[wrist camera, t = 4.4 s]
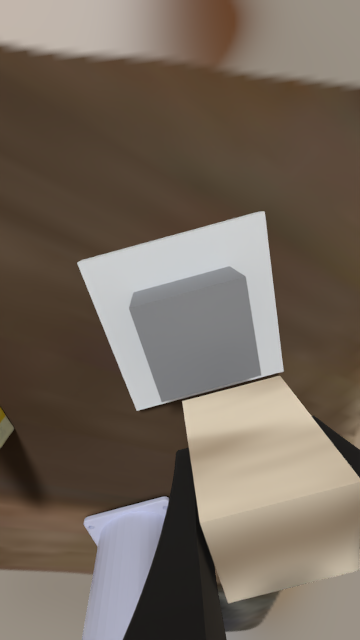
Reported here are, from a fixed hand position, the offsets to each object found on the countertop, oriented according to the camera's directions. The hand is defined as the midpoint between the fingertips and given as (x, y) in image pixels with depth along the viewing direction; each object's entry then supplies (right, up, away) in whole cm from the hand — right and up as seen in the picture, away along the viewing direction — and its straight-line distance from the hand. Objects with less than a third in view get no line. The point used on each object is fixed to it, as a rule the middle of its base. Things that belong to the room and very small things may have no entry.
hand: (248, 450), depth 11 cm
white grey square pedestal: (-2, +6, +7) cm, 9 cm away
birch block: (0, 0, +2) cm, 2 cm away
